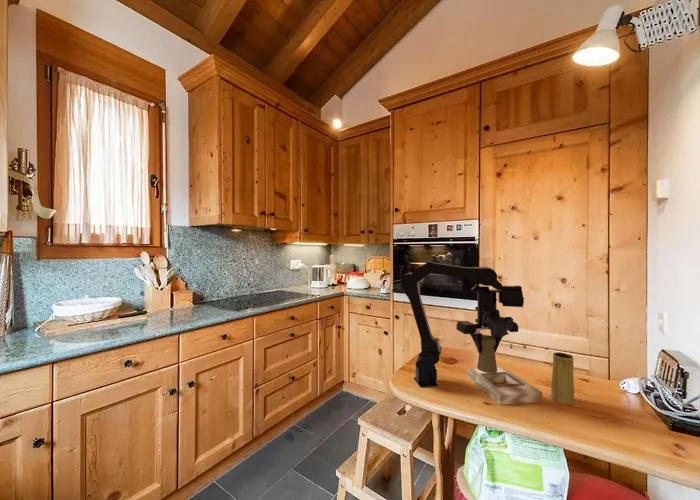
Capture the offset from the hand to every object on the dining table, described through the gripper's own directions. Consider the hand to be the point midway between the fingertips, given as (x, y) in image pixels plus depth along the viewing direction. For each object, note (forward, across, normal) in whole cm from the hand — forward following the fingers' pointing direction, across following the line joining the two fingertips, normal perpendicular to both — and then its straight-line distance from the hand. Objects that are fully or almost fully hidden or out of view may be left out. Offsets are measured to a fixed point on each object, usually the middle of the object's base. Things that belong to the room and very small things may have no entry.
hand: (487, 352), depth 98 cm
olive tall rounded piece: (+6, 0, 0) cm, 6 cm away
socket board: (+13, +6, +2) cm, 15 cm away
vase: (+14, +20, -8) cm, 26 cm away
